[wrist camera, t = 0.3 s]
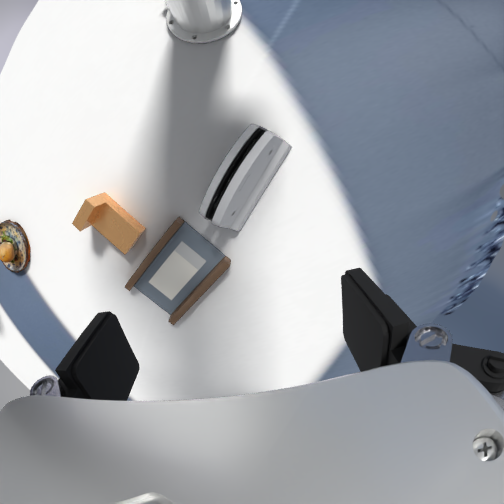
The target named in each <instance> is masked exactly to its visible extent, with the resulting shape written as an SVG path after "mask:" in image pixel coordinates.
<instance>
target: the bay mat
mask: <svg viewBox="0 0 504 504" xmlns="http://www.w3.org/2000/svg"><path fill="white" fill-rule="evenodd" d="M224 256H225V255H224V254H223V253H222V252H220V251H219V250H218V249H217V248H216V247H214V246H213V245H212V244H211V243H210V242H208V241H207V240H206V239H205V238H204V237H203V236H201V235H200V234H199V233H198V232H197V231H195V230H194V229H193V228H192V227H191V226H190V225H188V224H187V223H186V222H184V223H183V225H182V226H181V227H180V228H179V229H178V231H177V232H176V233H175V234H174V235H173V237H172V238H171V239H170V240H169V242H168V243H167V244H166V245H165V247H164V248H163V249H162V250H161V252H160V253H159V254H158V255H157V257H156V258H155V259H154V260H153V262H152V263H151V264H150V266H149V267H148V268H147V269H146V271H145V272H144V273H143V275H142V276H141V277H140V279H139V280H138V281H137V283H136V284H135V285H134V287H136V288H137V289H138V290H139V291H141V292H142V293H143V294H144V295H146V296H147V297H148V298H149V299H151V300H152V301H153V302H155V303H156V304H157V305H158V306H160V307H161V308H162V309H164V310H165V311H166V312H168V313H169V314H170V315H171V314H172V313H173V311H174V310H175V309H176V308H177V307H178V306H179V305H180V304H181V303H182V302H183V301H184V299H185V298H186V297H187V296H188V295H189V294H190V293H191V292H192V291H193V290H194V289H195V287H196V286H197V285H198V284H199V283H200V282H201V281H202V280H203V279H204V278H205V277H206V276H207V275H208V273H209V272H210V271H211V270H212V269H213V268H214V267H215V266H216V265H217V264H218V263H219V262H220V261H221V260H222V258H223V257H224Z"/></svg>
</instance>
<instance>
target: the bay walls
mask: <svg viewBox="0 0 504 504" xmlns="http://www.w3.org/2000/svg"><path fill="white" fill-rule="evenodd" d="M183 222H184V220H182V219H181V218H180V217H178V218H177V219H176V220H175V222H174V223H173V224H172V225H171V226H170V228H169V229H168V230H167V231H166V233H165V234H164V235H163V236H162V238H161V239H160V240H159V242H158V243H157V244H156V245H155V247H154V248H153V249H152V251H151V252H150V253H149V254H148V256H147V257H146V258H145V260H144V261H143V262H142V264H141V265H140V266H139V268H138V269H137V270H136V272H135V273H134V274H133V276H132V277H131V278H130V280H129V281H128V283H127V284H126V285H125V288H126V289H128V290H129V291H130V290H131V288H132V287H133V286H134V284H135V283H136V282H137V280H138V279H139V278H140V276H141V275H142V274H143V272H144V271H145V270H146V269H147V267H148V266H149V265H150V263H151V262H152V261H153V260H154V258H155V257H156V256H157V255H158V253H159V252H160V251H161V249H162V248H163V247H164V246H165V244H166V243H167V242H168V241H169V240H170V238H171V237H172V236H173V235H174V233H175V232H176V231H177V230H178V229H179V227H180V226H181V225H182V224H183ZM230 262H231V260H230V259H229V258H228V257H226V256H225V257H224V258H223V259H222V260H221V261H220V262H219V263H218V264H217V265H216V266H215V267H214V268H213V269H212V271H211V272H210V273H209V274H208V275H207V276H206V277H205V278H204V279H203V280H202V281H201V282H200V283H199V285H198V286H197V287H196V288H195V289H194V290H193V291H192V292H191V293H190V294H189V295H188V296H187V298H186V299H185V300H184V301H183V302H182V303H181V304H180V305H179V306H178V307H177V308H176V310H175V311H174V312H173V313H172V314H171V316H170V319H169V322H170V323H171V324H173V325H174V324H175V323H176V322H177V321H178V320H179V319H180V318H181V317H182V316H183V315H184V314H185V313H186V312H187V310H188V309H189V308H190V307H191V306H192V305H193V304H194V303H195V302H196V301H197V300H198V299H199V298H200V297H201V296H202V295H203V294H204V293H205V292H206V291H207V289H208V288H209V287H210V286H211V285H212V284H213V283H214V282H215V281H216V280H217V279H218V278H219V277H220V276H221V275H222V274H223V273H224V272H225V271H226V270H227V269H228V267H229V266H230Z"/></svg>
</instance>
